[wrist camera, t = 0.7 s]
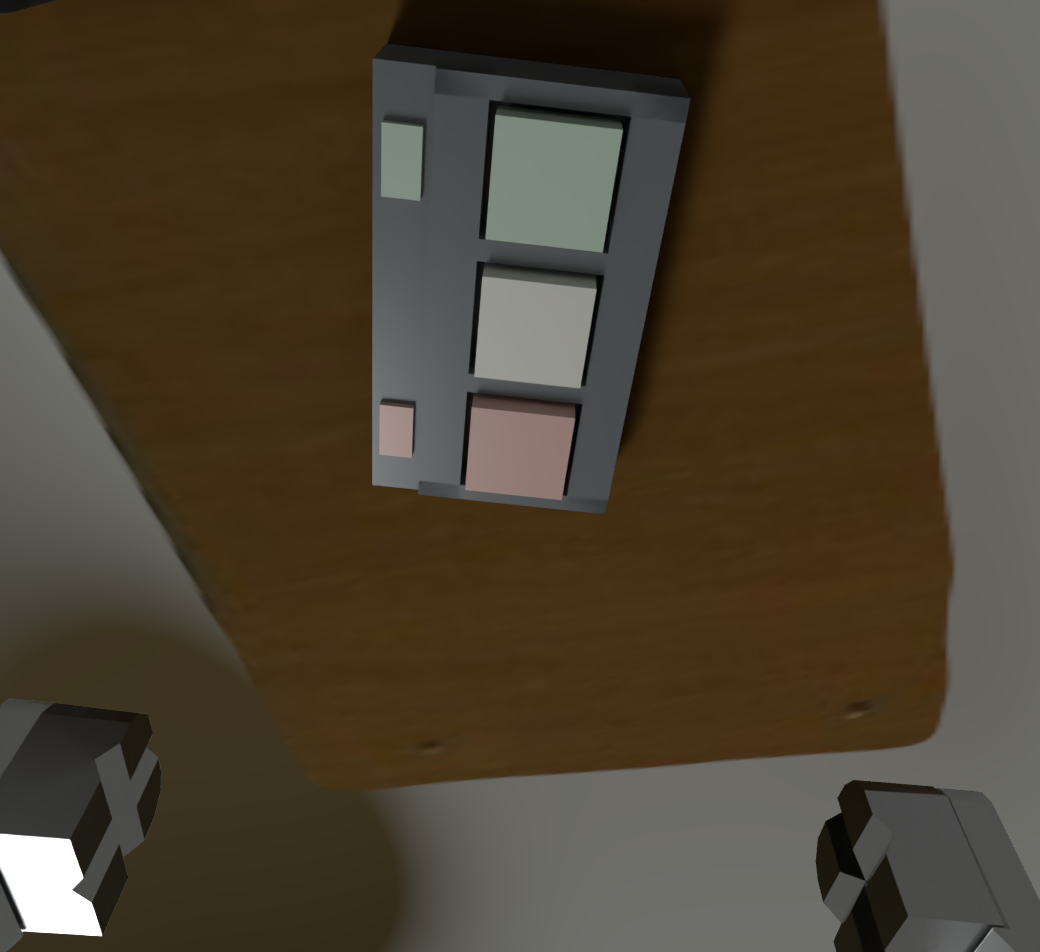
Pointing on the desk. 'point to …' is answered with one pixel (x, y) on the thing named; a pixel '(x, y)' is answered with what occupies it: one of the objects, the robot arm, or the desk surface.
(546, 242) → the sage key
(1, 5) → the beverage can
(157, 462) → the desk surface
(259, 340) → the desk surface
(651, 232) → the keypad
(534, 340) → the ivory key
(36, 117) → the desk surface
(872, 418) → the desk surface
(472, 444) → the rose key
